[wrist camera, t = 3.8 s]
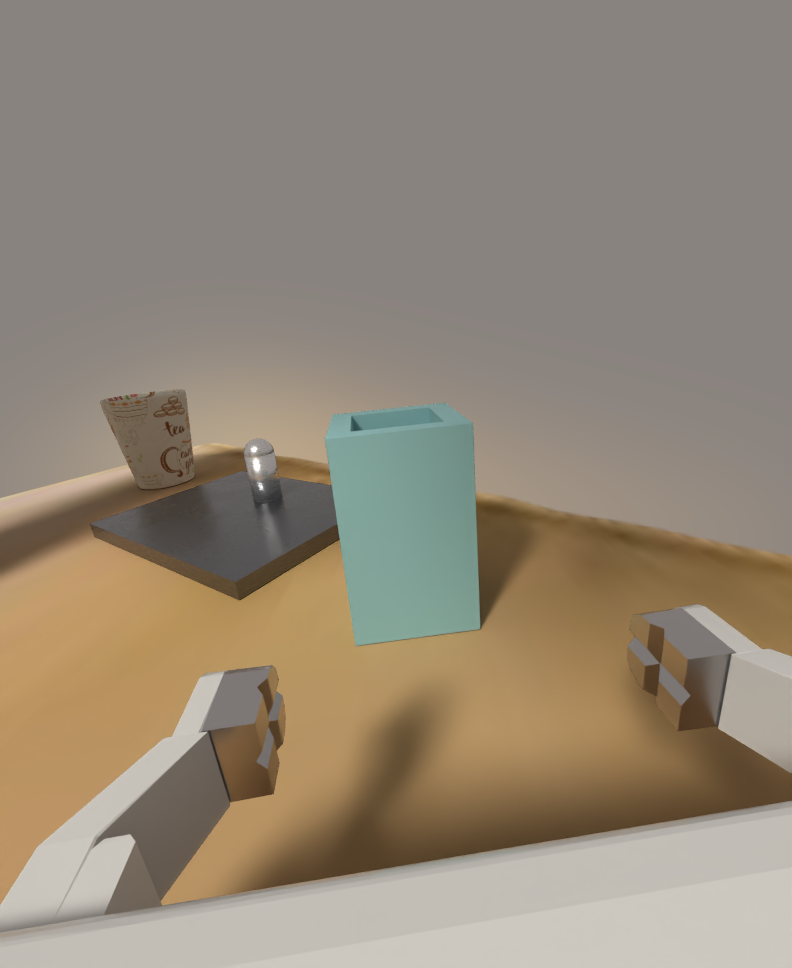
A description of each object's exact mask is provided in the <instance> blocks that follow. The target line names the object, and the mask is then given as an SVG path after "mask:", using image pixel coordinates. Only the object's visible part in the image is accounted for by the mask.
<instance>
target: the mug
mask: <svg viewBox="0 0 792 968" xmlns="http://www.w3.org/2000/svg"><path fill="white" fill-rule="evenodd" d="M100 404H101V407H102V409H103V412H104V414H105V416H106V418H107V420H108V422H109V424H110V427H111V429H112V431H113V433H114V435H115V437H116V439H117V441H118V444H119V446H120V448H121V450H122V452H123V455H124V456H125V459H126V461H127V463H128V465H129V468H130V470H131V472H132V474H133V476H134V478H135V480H136V482H137V484H138V486H139V488H141V489H160V488H166V487H171V486H175V485H178V484H181V483H184V482H187V481H189V480H191V479H192V478H193V477H194V476H195V470H194V461H193V452H192V443H191V434H190V425H189V416H188V407H187V398H186V393H185V391H184V390H166V391H156V392H147V393H139V394H132V395H126V396H120V397H114V398H109V399H105V400H101V401H100Z"/></svg>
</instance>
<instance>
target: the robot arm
mask: <svg viewBox="0 0 792 968" xmlns="http://www.w3.org/2000/svg"><path fill="white" fill-rule="evenodd" d="M629 630H630V631H631V632H632V634H633V635H634V636H635V638H634V639H633V640H632V642H631V643H630V644H629V645H628V658H627V659H628V662H629V666H630V670H631V672H632V674H633V676H634V678H635V680H636V681H637V682H638V684H639V685H640V686H641V687H642V689H643V690H645V691H647V692H649V693H651V694H653V695H655V696H657V699H656V706H657V707H658V708H659V709H660V710H661V712H662V713H663V714H664V715H665V716H666V718H667V719H668V720H669V721H670V722H671V724H672V725H673V726H674V727H675V728H676V730H677V731H684V730H692V729H700V728H708V727H716V726H718V729H720V730H722V731H723V732H725V733H726V734H728V735H730V736H731V737H733V738H735V739H736V740H738V741H739V742H741V743H743V744H744V745H746V746H747V747H749V748H751V749H752V750H754V751H756V752H757V753H759V754H760V755H762V756H764V757H765V758H767V759H769V760H770V761H772V762H773V763H775V764H777V765H778V766H780V767H782V768H783V769H785V770H786V771H788V772H790V773H791V774H792V656H789V655H786V654H783V653H780V652H777V651H775V650H772V649H764V650H762V649H761V648H760V647H758V646H757V645H756V644H754V643H753V642H752V641H750V640H749V639H748V638H746V637H745V636H744V635H742V634H741V633H740V632H738V631H737V630H736V629H734V628H733V627H732V626H730V625H729V624H728V623H726V622H725V621H724V620H723V619H721V618H720V617H719V616H717V615H716V614H715V613H713V612H712V611H711V610H709V609H708V608H707V607H705V606H702V605H699V604H695V605H689V606H683V607H677V608H675V609H668V610H661V611H655V612H648V613H641V614H634V615H633V617H632V618H631V620H630V629H629ZM278 681H279V679H278V675H277V671H276V668H275V667H274V666H273V665H270V666H262V667H253V668H245V669H236V670H228V671H222V672H214V673H206V674H204V675H203V676H201V677H200V678H199V680H198V682H197V684H196V686H195V689H194V691H193V693H192V695H191V697H190V699H189V701H188V703H187V706H186V708H185V710H184V712H183V714H182V716H181V718H180V720H179V723H178V725H177V727H176V729H175V731H174V733H173V735H172V737H167V738H164V739H163V740H161V741H160V742H159V743H158V744H157V745H156V746H154V747H153V748H152V749H151V750H150V751H149V752H147V753H146V754H145V755H144V756H143V757H142V758H140V759H139V760H138V761H137V762H136V763H135V764H133V765H132V766H131V767H130V768H129V769H128V770H126V771H125V772H124V773H123V774H122V775H121V776H119V777H118V778H117V779H116V780H115V781H114V782H112V783H111V784H110V785H109V786H108V787H107V788H105V789H104V790H103V791H102V792H101V793H100V794H98V795H97V796H96V797H95V798H94V799H93V800H91V801H90V802H89V803H88V804H87V805H86V806H84V807H83V808H82V809H81V810H80V811H79V812H77V813H76V814H75V815H74V816H73V817H72V818H70V819H69V820H68V821H67V822H66V823H65V824H63V825H62V826H61V827H60V828H59V829H58V830H56V831H55V832H54V833H53V834H52V835H51V836H49V837H48V838H47V839H46V840H45V841H44V842H42V843H41V844H40V845H39V846H38V847H37V848H36V850H35V852H34V853H33V855H32V856H31V858H30V859H29V861H28V863H27V864H26V866H25V867H24V869H23V870H22V872H21V874H20V875H19V877H18V878H17V880H16V882H15V883H14V885H13V886H12V888H11V889H10V891H9V893H8V894H7V896H6V897H5V899H4V900H3V902H2V904H1V905H0V968H792V801H787V802H781V803H775V804H769V805H763V806H757V807H751V808H745V809H739V810H733V811H727V812H721V813H715V814H709V815H703V816H697V817H691V818H685V819H679V820H673V821H667V822H661V823H655V824H649V825H643V826H637V827H631V828H625V829H619V830H613V831H607V832H601V833H595V834H589V835H583V836H577V837H571V838H565V839H559V840H553V841H547V842H541V843H535V844H529V845H523V846H517V847H511V848H505V849H499V850H493V851H487V852H481V853H475V854H469V855H463V856H457V857H451V858H445V859H439V860H433V861H427V862H421V863H415V864H409V865H403V866H397V867H391V868H385V869H379V870H373V871H367V872H361V873H355V874H349V875H343V876H337V877H331V878H325V879H319V880H313V881H307V882H301V883H295V884H289V885H283V886H277V887H271V888H265V889H259V890H253V891H247V892H241V893H235V894H229V895H223V896H217V897H211V898H205V899H199V900H193V901H187V902H181V903H175V904H169V905H163V906H162V904H161V900H162V899H163V897H164V896H165V894H166V893H167V892H168V890H169V889H170V888H171V886H172V885H173V883H174V882H175V881H176V879H177V878H178V877H179V875H180V874H181V872H182V871H183V870H184V868H185V867H186V866H187V864H188V863H189V861H190V860H191V859H192V857H193V856H194V855H195V853H196V852H197V850H198V849H199V848H200V846H201V845H202V844H203V842H204V841H205V839H206V838H207V837H208V835H209V834H210V833H211V831H212V830H213V828H214V827H215V826H216V824H217V823H218V822H219V820H220V819H221V817H222V816H223V815H224V813H225V812H226V810H227V809H228V808H229V806H230V802H235V801H240V800H245V799H251V798H256V797H261V796H267V795H272V794H274V790H275V785H276V779H277V774H278V769H279V758H278V754H277V750H278V749H279V748H280V746H281V745H282V744H283V741H284V735H285V720H286V715H285V705H284V701H283V696H282V695H281V694H279V693H278V692H277V691H276V690H277V686H278Z"/></svg>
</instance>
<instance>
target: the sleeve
mask: <svg viewBox="0 0 792 968" xmlns="http://www.w3.org/2000/svg"><path fill="white" fill-rule="evenodd" d="M473 438H474V437H473V423H472V422H471V421H469V420H468V419H466V418H465V417H464V416H462V415H461V414H460V413H458V412H457V411H455V410H454V409H453V408H451V407H450V406H449V405H447V404H446V403H437V404H428V405H419V406H409V407H400V408H391V409H381V410H372V411H364V412H353V413H344V414H334V415H333V416H332V419H331V422H330V425H329V428H328V431H327V435H326V438H325V443H326V449H327V457H328V463H329V470H330V477H331V484H332V490H333V497H334V504H335V510H336V517H337V524H338V531H339V537H340V544H341V551H342V558H343V564H344V571H345V578H346V584H347V591H348V598H349V605H350V611H351V618H352V625H353V632H354V638H355V645H356V646H358V645H365V644H373V643H380V642H388V641H395V640H403V639H410V638H418V637H425V636H433V635H440V634H447V633H455V632H462V631H470V630H477V629H480V605H479V577H478V549H477V521H476V493H475V465H474V439H473Z"/></svg>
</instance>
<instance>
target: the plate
mask: <svg viewBox="0 0 792 968" xmlns="http://www.w3.org/2000/svg"><path fill="white" fill-rule="evenodd" d="M244 459H245V463H246V468H247V472H244V471H240V472H237V473H234V474H231V475H229V476H226V477H223V478H220V479H217V480H214V481H211V482H208V483H206V484H203V485H200V486H197V487H194V488H191V489H188V490H185V491H183V492H180V493H177V494H174V495H171V496H168V497H165V498H162V499H160V500H157V501H154V502H151V503H148V504H145V505H142V506H139V507H137V508H134V509H131V510H128V511H125V512H122V513H119V514H116V515H114V516H111V517H108V518H105V519H102V520H99V521H96V522H93V523H90V526H91V528H92V531H93V534H94V537H96V538H98V539H101V540H103V541H105V542H108V543H110V544H112V545H114V546H117V547H119V548H121V549H124V550H126V551H128V552H130V553H133V554H135V555H137V556H140V557H142V558H144V559H147V560H149V561H151V562H153V563H156V564H158V565H160V566H163V567H165V568H167V569H169V570H172V571H174V572H176V573H179V574H181V575H183V576H185V577H188V578H190V579H192V580H195V581H197V582H199V583H201V584H204V585H206V586H208V587H211V588H213V589H215V590H217V591H220V592H222V593H224V594H227V595H229V596H231V597H233V598H236V599H238V600H240V599H242V598H243V597H245V596H247V595H248V594H250V593H252V592H253V591H255V590H257V589H258V588H260V587H261V586H263V585H265V584H266V583H268V582H270V581H271V580H273V579H275V578H276V577H278V576H279V575H281V574H283V573H284V572H286V571H288V570H289V569H291V568H292V567H294V566H296V565H297V564H299V563H301V562H302V561H304V560H306V559H307V558H309V557H310V556H312V555H314V554H315V553H317V552H319V551H320V550H322V549H324V548H325V547H327V546H328V545H330V544H332V543H333V542H335V541H337V540H338V539H340V537H339V531H338V524H337V517H336V510H335V504H334V497H333V490H332V485H326V484H320V483H313V482H307V481H301V480H294V479H288V478H282V477H279V475H278V469H277V464H276V459H275V454H274V449H273V447H272V445H271V444H270V443H269V442H268V441H266V440H264V439H254V440H251V441H250V442H248V443H247V445H246V446H245V448H244Z"/></svg>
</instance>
